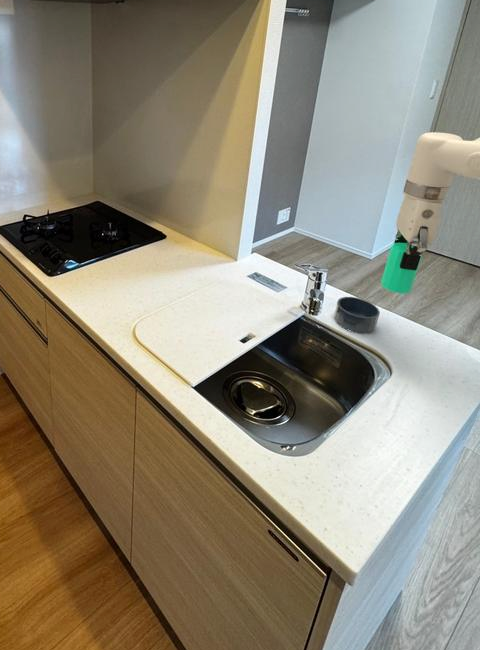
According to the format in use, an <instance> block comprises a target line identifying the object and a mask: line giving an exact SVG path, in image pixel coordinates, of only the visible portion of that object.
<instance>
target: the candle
mask: <svg viewBox="0 0 480 650" xmlns="http://www.w3.org/2000/svg"><path fill="white" fill-rule="evenodd" d="M413 247H414V245H412V248H413ZM406 248H407V243H394V242H393V244H392V245H391V246H390V249H389V254H388V257H387V260H386V263H385V267H384V269H383V270H384V271H383V274H382V278H381V281H380V284H381V286H382V287H383V288H384V289H386V290H388V291H390V292H393V293H395V294H396V293H397V294H403V295H405V294H410V292H411V291H412V288H413V285H414V282H415V279H416V276H417V273H418V269H419V267H420V263H421V260H422V257H423V255H422V256H421V258H420V261H419V264H418V267H417V270H407V269H401V268H400V263H401V260H402V256H403V253H404V252H406Z"/></svg>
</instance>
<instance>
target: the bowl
mask: <svg viewBox="0 0 480 650" xmlns="http://www.w3.org/2000/svg"><path fill="white" fill-rule="evenodd" d="M379 317H380V310H379V308H378V307H377V306H376V305H375V304H373V303H371V302H370V301H368V300H365V299H363V298H359V297H354V296H343V297H340V298H338V299H337V303H336V306H335V310H334V315H333V319H334V318H335V319H334V321H335V320H336V321H337V322H338V323H337V322H336V321H335V322H336V323H337V325H339V324H340V325H341V326H342V327H341V326H340V325H339V326H340V327H341V328H343V327H345V328H346V329H345V328H344V329H345V330H347V329H349V330H351V331H350V332H352V331H353V332H352V333H355V332H357V333H356V334H361V333H362V335H364V334H363V333H368V334H371V333H374V332H375V330H376V327H377V324H378V321H379ZM349 330H348V331H349Z"/></svg>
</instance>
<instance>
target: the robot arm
mask: <svg viewBox="0 0 480 650" xmlns="http://www.w3.org/2000/svg"><path fill="white" fill-rule="evenodd" d="M408 169H409V170H408V174H407V177H406V180H405V183H404V186H403V191H402V194H403V195H404V197H403V200H402V202H401V205H400V208H399V212H398V214H397V218H396V223H395V224H396V225H395V226H396V228H397V232H396V234H395V239H394V242H393V244H394V243H407V248H406V252H404V253H403V256H402V260H401V263H400V268H401V269H407V270H417V267H418V264H419V261H420V258H421V259H422V257H423V254H424V252H426V251H427V250H428V245H433V244H434V243H435V240H436V237H437V234H438V233H437V232H438V229H439V226H440V223H441V222H440V221H441V217H442V211H443V210H442V209H443V202H445V200H446V199H447V196H448V193H449V189H450V186H451V183H452V180H453V177H454V174H456V175H459V176H462V177H464V178H469V179H473V180H480V137H478V138H476V139H473V140H464V139H463V138H462V137H461V136H459V135H457V134H453V133H448V132H438V131H437V132H434V131H433V132H425V133H422V134H420V136H419V137H418V140H417V142H416V146H415V149H414V152H413V156H412V160H411V164H410V167H409V168H408ZM413 239H416V240H413ZM414 244H415V246H414ZM412 246H414V247H413V248H412ZM421 256H422V257H421ZM420 262H421V261H420ZM419 265H420V264H419ZM418 268H419V267H418ZM417 271H418V270H417Z"/></svg>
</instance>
